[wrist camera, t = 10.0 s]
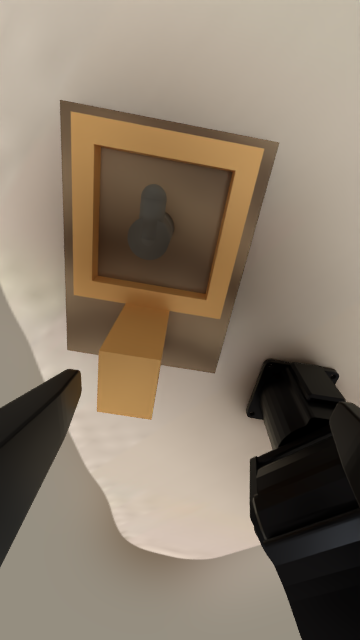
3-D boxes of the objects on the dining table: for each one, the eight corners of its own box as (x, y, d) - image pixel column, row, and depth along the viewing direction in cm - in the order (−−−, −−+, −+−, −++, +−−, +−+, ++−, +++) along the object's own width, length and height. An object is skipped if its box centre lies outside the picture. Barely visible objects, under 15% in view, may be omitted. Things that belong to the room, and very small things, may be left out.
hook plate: (213, 362, 23) (220, 416, 18) (74, 340, 23) (37, 388, 17) (271, 146, 16) (313, 124, 10) (71, 107, 15) (6, 63, 10)
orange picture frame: (79, 116, 14) (-7, 62, 8) (259, 151, 15) (309, 124, 9) (80, 336, 21) (32, 401, 14) (206, 357, 21) (213, 428, 15)
